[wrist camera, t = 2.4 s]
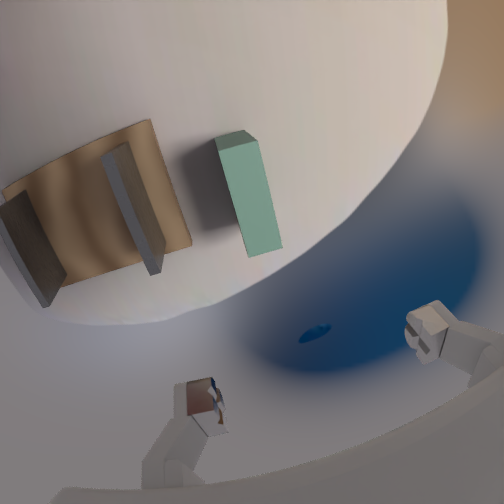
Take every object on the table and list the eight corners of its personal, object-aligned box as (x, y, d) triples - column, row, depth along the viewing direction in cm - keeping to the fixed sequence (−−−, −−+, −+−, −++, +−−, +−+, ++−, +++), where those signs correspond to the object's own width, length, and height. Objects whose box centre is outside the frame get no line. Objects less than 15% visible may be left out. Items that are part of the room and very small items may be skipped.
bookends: (128, 141, 30) (111, 152, 24) (166, 242, 37) (160, 272, 31) (19, 192, 30) (-9, 213, 24) (61, 277, 37) (43, 308, 31)
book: (244, 129, 34) (257, 140, 26) (265, 215, 39) (283, 248, 31) (213, 138, 34) (217, 151, 26) (238, 223, 39) (248, 258, 31)
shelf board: (150, 118, 31) (148, 119, 30) (192, 240, 39) (191, 245, 38) (7, 186, 31) (1, 190, 29) (55, 284, 39) (52, 290, 37)
